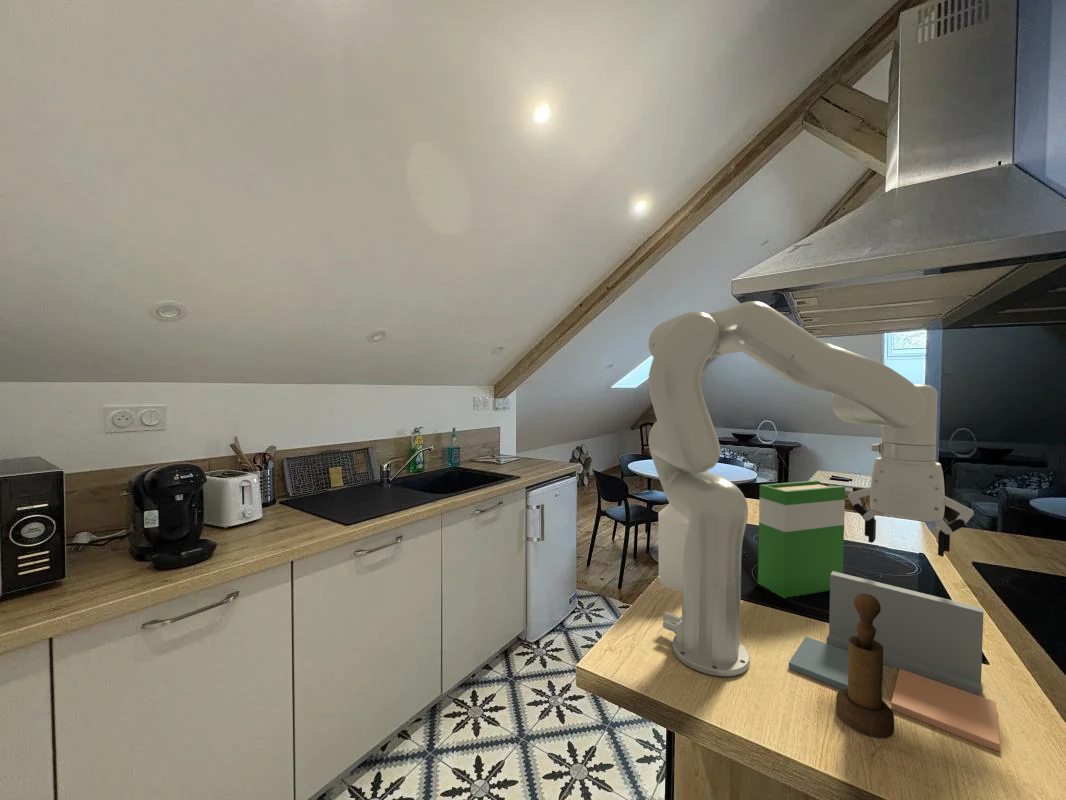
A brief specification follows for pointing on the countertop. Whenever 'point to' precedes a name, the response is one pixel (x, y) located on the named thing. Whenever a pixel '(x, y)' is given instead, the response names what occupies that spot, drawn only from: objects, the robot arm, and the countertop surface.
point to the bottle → (671, 547)
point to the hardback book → (800, 536)
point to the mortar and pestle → (865, 677)
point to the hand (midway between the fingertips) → (905, 547)
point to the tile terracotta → (947, 708)
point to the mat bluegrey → (822, 662)
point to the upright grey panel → (913, 630)
